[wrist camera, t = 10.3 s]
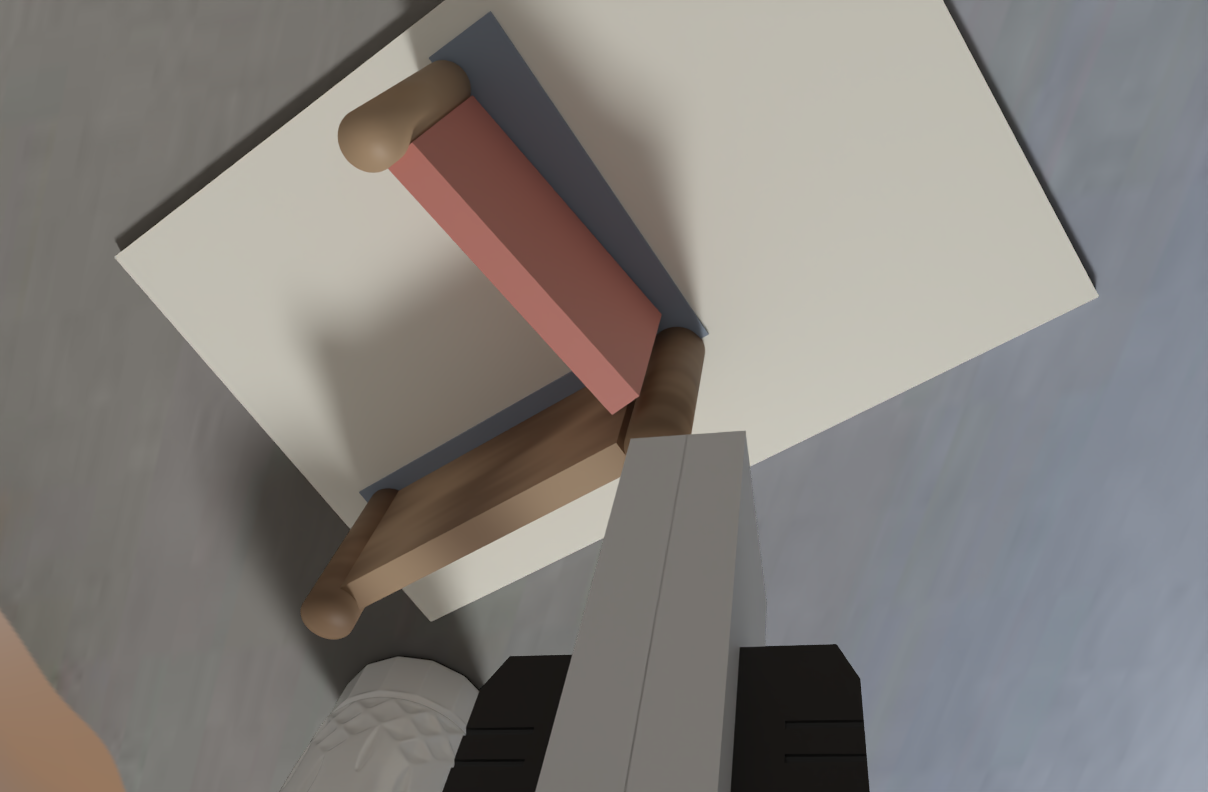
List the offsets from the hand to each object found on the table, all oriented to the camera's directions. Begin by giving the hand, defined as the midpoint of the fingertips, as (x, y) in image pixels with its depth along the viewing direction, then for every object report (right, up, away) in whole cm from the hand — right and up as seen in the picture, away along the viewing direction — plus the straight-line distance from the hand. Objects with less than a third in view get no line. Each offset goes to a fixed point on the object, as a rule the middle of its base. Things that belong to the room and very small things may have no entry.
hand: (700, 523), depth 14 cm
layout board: (-2, +6, +21) cm, 22 cm away
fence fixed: (-4, 0, +23) cm, 24 cm away
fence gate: (-3, +8, +19) cm, 21 cm away
